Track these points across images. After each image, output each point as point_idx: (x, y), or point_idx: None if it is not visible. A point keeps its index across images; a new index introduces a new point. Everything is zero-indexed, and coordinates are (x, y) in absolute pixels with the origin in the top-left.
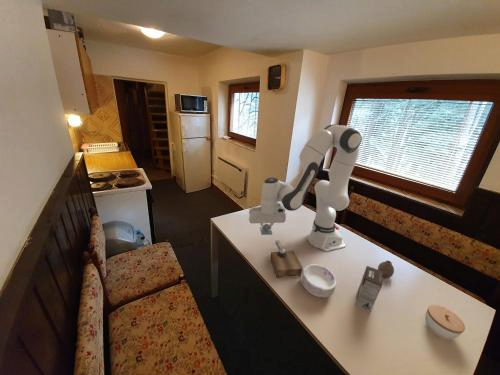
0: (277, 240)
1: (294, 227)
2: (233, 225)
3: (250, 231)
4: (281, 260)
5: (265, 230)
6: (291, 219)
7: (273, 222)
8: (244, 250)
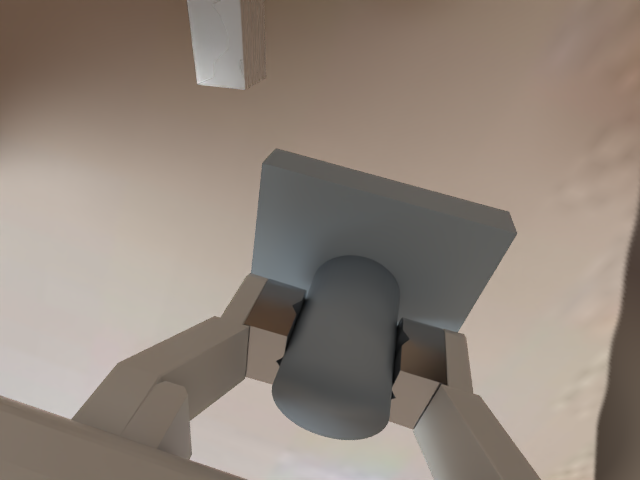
0: (217, 79)
1: (56, 278)
2: None
3: None
4: None
5: (383, 281)
6: (68, 344)
7: (53, 443)
8: (605, 182)
